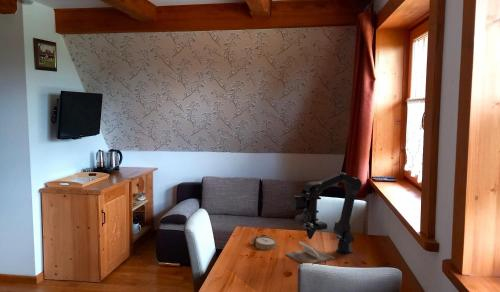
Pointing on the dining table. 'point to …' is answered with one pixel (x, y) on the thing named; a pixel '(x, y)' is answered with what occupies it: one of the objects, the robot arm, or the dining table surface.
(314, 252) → the tile
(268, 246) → the alarm clock
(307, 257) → the board
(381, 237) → the dining table surface
